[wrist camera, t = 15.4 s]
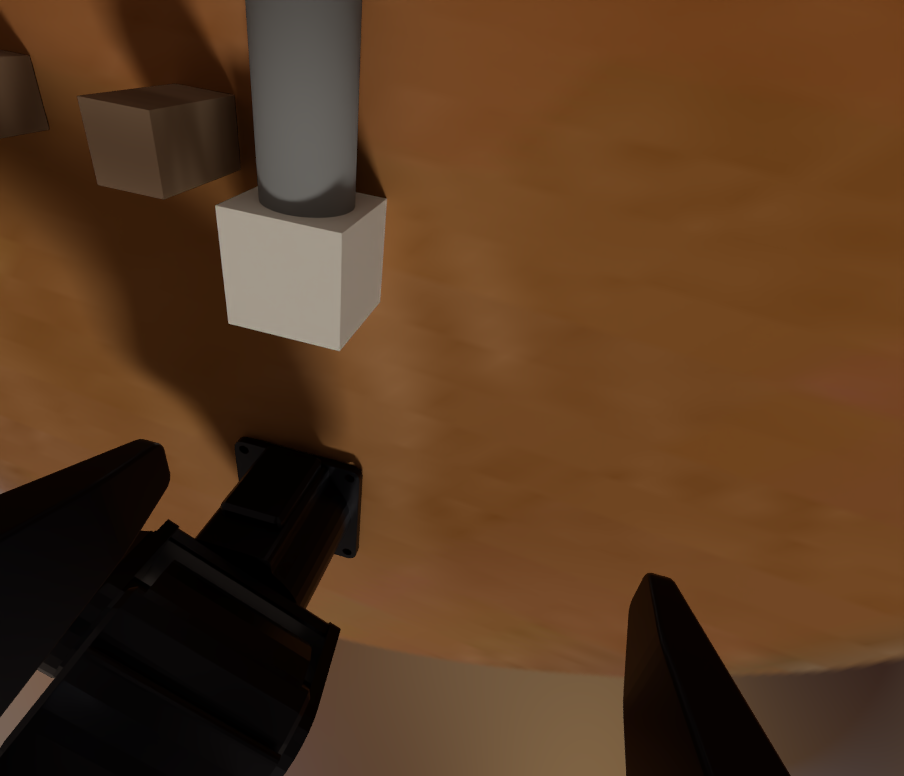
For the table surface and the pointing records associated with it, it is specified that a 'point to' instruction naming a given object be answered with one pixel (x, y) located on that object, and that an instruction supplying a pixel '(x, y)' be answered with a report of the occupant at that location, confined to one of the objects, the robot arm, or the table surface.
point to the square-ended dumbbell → (303, 182)
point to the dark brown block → (135, 130)
